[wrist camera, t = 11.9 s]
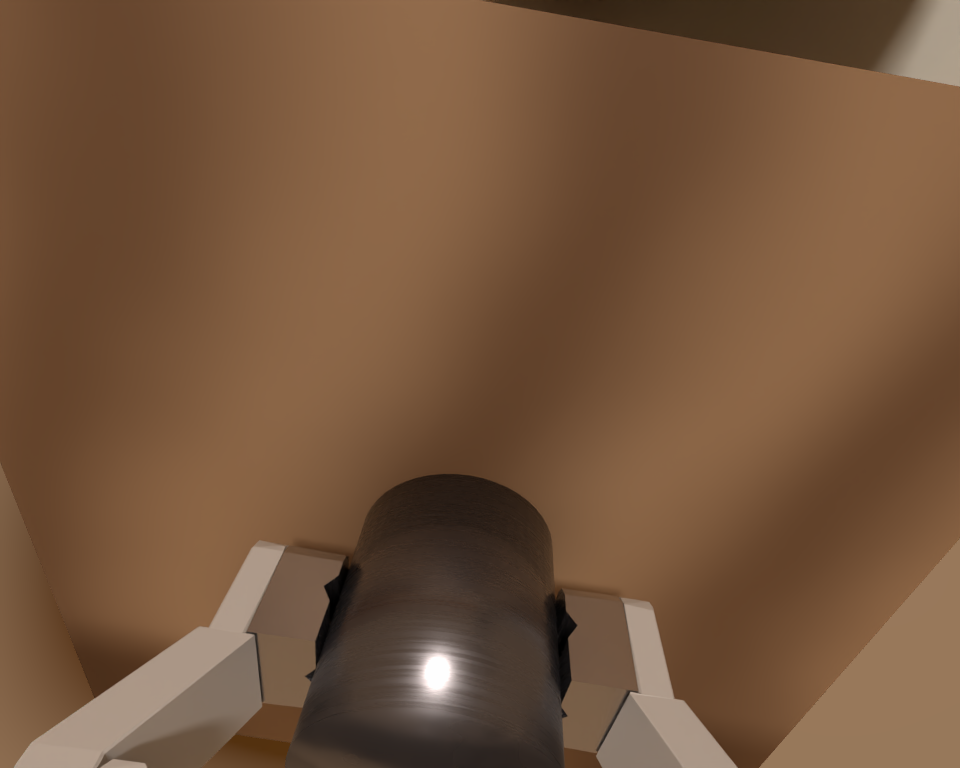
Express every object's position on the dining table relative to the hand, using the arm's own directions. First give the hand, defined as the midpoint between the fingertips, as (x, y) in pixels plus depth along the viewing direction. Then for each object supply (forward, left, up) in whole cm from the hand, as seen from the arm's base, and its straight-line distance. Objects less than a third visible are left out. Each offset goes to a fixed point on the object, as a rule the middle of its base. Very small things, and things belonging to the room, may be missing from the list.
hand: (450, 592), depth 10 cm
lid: (0, 0, -5) cm, 5 cm away
